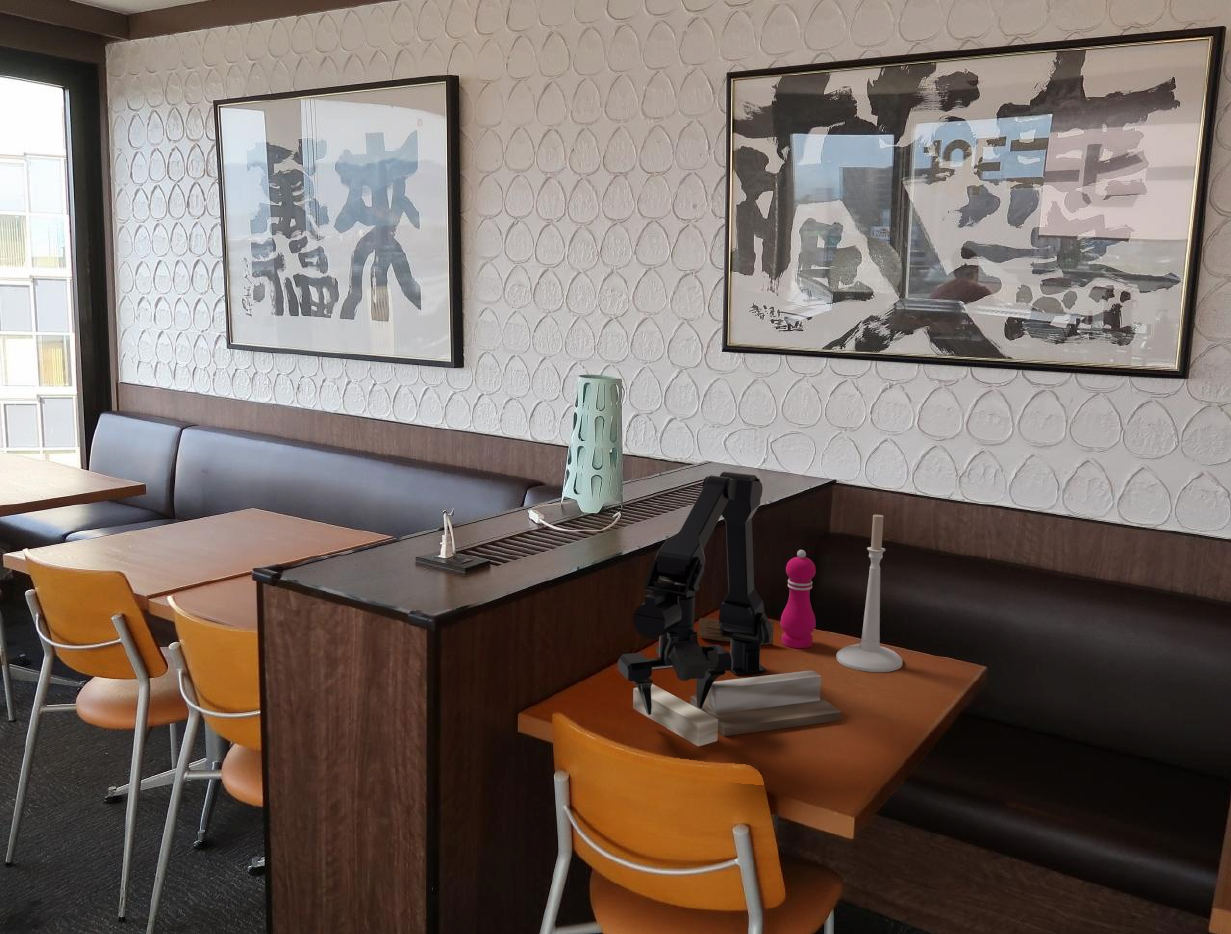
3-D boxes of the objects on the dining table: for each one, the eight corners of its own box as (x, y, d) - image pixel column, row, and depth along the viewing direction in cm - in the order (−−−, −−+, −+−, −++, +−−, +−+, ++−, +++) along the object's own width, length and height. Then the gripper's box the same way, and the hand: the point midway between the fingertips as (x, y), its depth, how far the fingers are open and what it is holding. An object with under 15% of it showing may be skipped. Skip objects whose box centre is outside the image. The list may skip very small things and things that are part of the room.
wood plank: (772, 642, 217) (773, 619, 216) (772, 646, 215) (774, 622, 214) (698, 638, 219) (699, 615, 218) (698, 641, 217) (699, 618, 216)
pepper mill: (793, 635, 221) (797, 543, 218) (821, 644, 216) (826, 550, 213) (772, 642, 216) (776, 549, 213) (801, 651, 211) (805, 556, 208)
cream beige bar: (632, 710, 182) (633, 688, 181) (651, 705, 184) (651, 683, 183) (698, 748, 167) (698, 724, 166) (717, 742, 169) (718, 719, 169)
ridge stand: (690, 704, 184) (691, 671, 183) (800, 690, 191) (802, 659, 190) (723, 736, 171) (725, 701, 170) (841, 720, 178) (842, 687, 177)
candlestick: (862, 675, 199) (871, 522, 194) (823, 654, 210) (831, 508, 205) (916, 667, 204) (926, 517, 199) (875, 646, 216) (884, 504, 210)
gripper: (641, 642, 162) (639, 737, 164) (749, 632, 168) (745, 723, 171) (617, 621, 172) (615, 710, 175) (720, 611, 178) (717, 697, 181)
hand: (674, 710), depth 175 cm, fingers open, 9 cm apart
